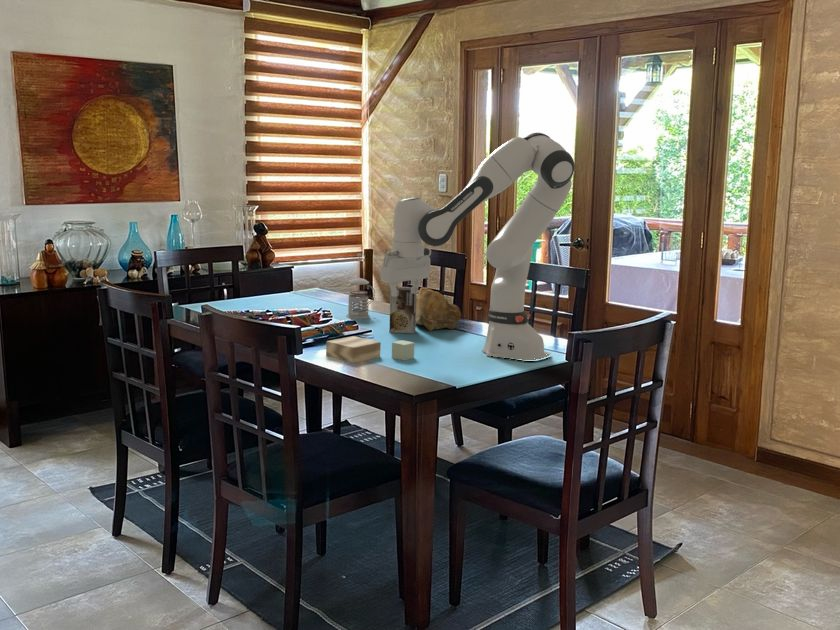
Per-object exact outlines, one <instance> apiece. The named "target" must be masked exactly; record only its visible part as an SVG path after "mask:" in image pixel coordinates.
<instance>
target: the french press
mask: <svg viewBox="0 0 840 630" xmlns="http://www.w3.org/2000/svg"><path fill="white" fill-rule="evenodd" d="M362 256H363V254H362V253H357V257H359V258H358V260H359V261H358V262H359V264H358V271H360V267H361V264H360V263H361V259H360V258H361V257H362ZM348 283H349V284H351V285H358V286H362V285H363V286H365V285H366V289H367V290H369V289H370V288H371V290H372V297H371V300H369V296H368V295H367V294H368V293H369V292H368V291H364V290H351V291H349V293H350V294H349V295H348V310H347V311H348V312H347V314H346V315H345V317H346V318H349V319H354V320H355V319H357V320H360V319H361V320H363V319H370V318H371V316H370V314H369V305H370V304H371V303H373V302H374V300H375V298H376V291H375V288H374V287H373V286H371V285H369V284H370V281H368V280H367V279H364V278H361V277H360V276H358V277H356V278H351V279H350V280H348Z"/></svg>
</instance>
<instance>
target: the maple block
mask: <svg viewBox="0 0 840 630" xmlns="http://www.w3.org/2000/svg"><path fill="white" fill-rule="evenodd" d="M325 344H326V345H325V348H326V349H325V351H326V352H325V354H326V355H325V356H326V357H331V358H334V359H338V360H341V361H345V362H349V363H353V364H355V363H357V362H358V363H359V362H362V361H367V360H371V359H376V358H380V357H381V341H377V340H373V339H369V338H363V337H360V336H356V335H352V336H347V337H342V338H335V339H331V340H326V343H325Z"/></svg>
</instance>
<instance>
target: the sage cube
mask: <svg viewBox="0 0 840 630" xmlns="http://www.w3.org/2000/svg"><path fill="white" fill-rule="evenodd" d="M415 344H416V343H415V342H413V341H408V340H403V339H400V340H397V341H392V342H391V358H392V359H396V360H400V361H407V360H411V359H414V357H415Z"/></svg>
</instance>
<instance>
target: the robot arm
mask: <svg viewBox="0 0 840 630" xmlns="http://www.w3.org/2000/svg"><path fill="white" fill-rule="evenodd" d="M575 168H576V163H575V161H574V158H573V156H572V155H571V154H570V153H569V151H567V150H566V149H565V148H564V147H563V146H562V145H561V144H560V143H559V142H557V141H554V139H552V138H551V137H550V136H549V135H547V134H546V133H543V132H542V133H541V132H533V133H530V134H528V135H526V136H525V137H520V136H516V137H515V136H514V137H513V138H510V139H509V140H507V141H505V143H503V144H502V145H500V146H499V147H497V148H496V149H495V150H494V151H493V152H491V153H490V154H488V156H486V157H485V159H483V161H482V162H481V163H480V164H479V165H478V166H477V167H476V169H475V171H474V172H473V174H472V175H471V178H470V180H469V181H468V183H467V185H466V186H465V187H464V189H462V190H461V191H460V192H459V193H458V194H457V195H456V196H455V197H454V198H452V199H451V200H450V201H449V202H448V203H447V204H446V205H445V206H443V207H442V208H440V209H439V208H436V207H434V206H432V205H430V204H428V203H426V202H425V201H424V200H423V199H422V198H421V197H407V198H402V199H400V200H399V201H398V202H396V205H395V207H394V213H393V214H394V215H393V225H392V226H393V230H394V234H393V238H392V248H391V249H392V251H388V252H387V253H386V254H385V255H384V256H383V260H382V263H381V270H380V280H381V282H382V283H387V284H388V287H389V290H390V289H391V296H393V297H396V296H398V295H399V294H398V293H399V291H397V288H396V287H398V283H399V282H400V283H402V282H408V281H412V282H413V285H412V286H410V287H411V293H413V294H416V295H417V294H419V287H420V285H421V282H422V280H423V279H428V278H429V276H430V273H431V257H430V256H431V254H432V249H431V248H430V247H426V246H424V245H422V242H423V243H424V244H427V245H428V246H431V247H439V246H443V245H445V244H446V243H447V242H448V241H449V240H450V239H451V237H452V235H453V233H454V231H455V228H456V226H458V224H459V223H460V222H461V221H462V220H463V219H465V218H466V217H467V216H468V215H469V214H470V213H471V212H472V211H473V210H475V208H477V207H478V206H479V205H481V204H482V203H484V202H486V201H487V200H490V199H491V198H494V197H495V196H497V195H499V194H500V193H501V192H503V191H505V190H506V189H507V188H509V187H510V186H512V185H513V184H514V183H515V182H516V181H517V180H519V178H520V177H521V176H522V175H523V174H524V173H527V172H530V171H532V172H533V173H534V174H537V179H536V182H535V183H534V184H533V186H532V188H531V189H530V190H529V192H527V194H526V196H525V198H524V199H523V201H522V202H521V203H520V205H519V207H518V208H517V209H516V211H515V213H513V215H512V216H511V217H510V219H509V220H507V222H506V223H505V224H504V226H503V227H502V228H501V229H500V230H499V232H498V233H497V234H496V236H495V237H494V238H493V240H491V242H490V243H489V244H488V246H487V248H486V251H485V256H486V259H487V262H488V263H489V265H490V266H491V267H493V268H495V274H494V277H493V280H492V282H491V287H490V300H489V302H490V304H489V309H488V314H487V315H488V316H487V323H488V328H487V331H486V332H487V333H486V338H485V342H484V345H483V347H482V348H483V349H482V352H484V353H485V354H486V357H491V356H493V357H492V358H497V357H505V358H513V359H522V360H536V359H541V358H544V357H547V356H549V355H550V354H551V353H550V352H548V351H545V344H544V343H545V342H544V339H543V336H541V334H540V333H538V332H537V331H536V330H535V329H534V328H533V327H532V326H531V324H529V323H528V319H530V318H531V314H527V313H526V311H525V310H524V309H525V297H526V285H527V279H528V275H529V270H530V265H531V259H532V256H533V253H534V244H535V243H536V242H537V240H538V239H539V238H540V237H541V236H542V234H544V233H545V231H546V230H547V229H548V228H549V225H550V224H551V223H552V221H553V219H554V218H555V217H556V215H557V214H558V213H559V211H560V210H561V207H562V206H563V204H564V203H565V201H566V199H567V198H568V195H569V194H570V191H571V189H572V186H573V185H572V178H573V175H574V172H575V170H576V169H575ZM546 354H547V355H546ZM534 358H535V359H534Z"/></svg>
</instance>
